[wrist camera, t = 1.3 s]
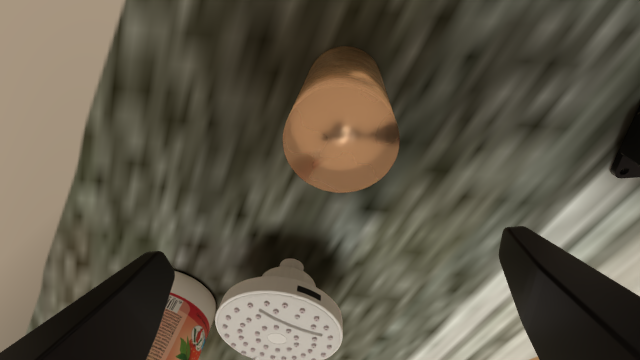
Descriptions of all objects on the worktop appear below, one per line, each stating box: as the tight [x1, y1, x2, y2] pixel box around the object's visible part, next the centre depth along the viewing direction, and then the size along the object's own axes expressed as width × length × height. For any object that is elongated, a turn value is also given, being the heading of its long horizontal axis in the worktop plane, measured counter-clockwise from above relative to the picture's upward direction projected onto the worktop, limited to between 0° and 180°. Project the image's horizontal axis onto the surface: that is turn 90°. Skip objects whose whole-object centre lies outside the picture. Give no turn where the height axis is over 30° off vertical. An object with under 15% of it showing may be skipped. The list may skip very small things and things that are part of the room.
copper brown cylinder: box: [283, 46, 400, 193], centre depth 15 cm, size 4×4×8 cm
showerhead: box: [215, 258, 343, 360], centre depth 25 cm, size 9×7×10 cm
